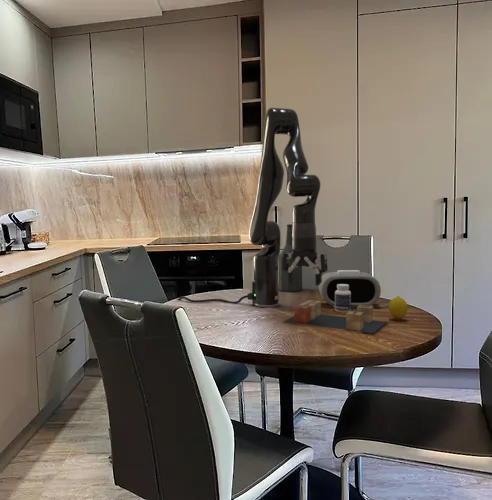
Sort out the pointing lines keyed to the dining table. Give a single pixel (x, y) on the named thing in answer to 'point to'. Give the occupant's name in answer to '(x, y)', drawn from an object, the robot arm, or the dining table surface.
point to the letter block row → (359, 317)
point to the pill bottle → (342, 298)
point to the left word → (313, 308)
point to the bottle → (284, 275)
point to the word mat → (341, 323)
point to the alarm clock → (351, 287)
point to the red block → (302, 314)
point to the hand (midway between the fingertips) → (304, 284)
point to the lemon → (398, 307)
